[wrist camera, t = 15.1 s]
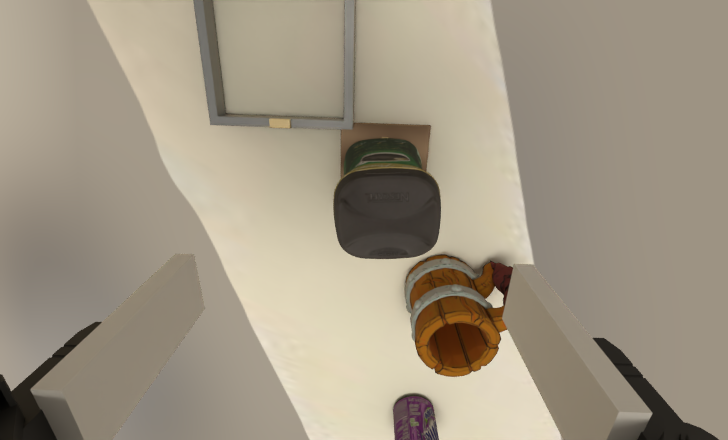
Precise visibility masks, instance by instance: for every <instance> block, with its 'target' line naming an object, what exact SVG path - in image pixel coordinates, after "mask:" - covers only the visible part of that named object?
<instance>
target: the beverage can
mask: <svg viewBox="0 0 728 440" xmlns="http://www.w3.org/2000/svg"><path fill="white" fill-rule="evenodd" d="M393 415H394V433H395V440H439V438H438V432H437V426H436V420H435V414H434V409H433V406H432V404H431V403H430V402H429V401H428V400H427V399H425V398H422V397H418V396H410V397H405V398H403V399H401V400H399V401H398V402H397V403H396V404H395V406H394V409H393Z"/></svg>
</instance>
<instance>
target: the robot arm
mask: <svg viewBox="0 0 728 440" xmlns="http://www.w3.org/2000/svg"><path fill="white" fill-rule="evenodd" d="M204 309H205V307H204V302H203V297H202V292H201V287H200V282H199V277H198V272H197V267H196V262H195V257H194V254H175V255H174V256H173V257H172V258H171V259H170V260H168V261H167V262H166V263H165V264H164V265H163V266H162V267H161V268H160V269H159V270H158V271H157V272H156V273H155V274H153V275H152V276H151V277H150V278H149V279H148V280H147V281H146V282H145V283H144V284H143V285H142V286H140V287H139V288H138V289H137V290H136V291H135V292H134V293H133V294H132V295H131V296H130V297H129V298H128V299H127V300H126V301H124V302H123V303H122V304H121V305H120V306H119V307H118V308H117V309H116V310H115V311H114V312H113V313H112V314H111V315H109V316H108V318H106V319H105V320H104V321H103V322H95V323H93V324H91V325H90V326H88V327H86V328H84V329H83V330H81V331H79V332H78V333H77V334H75V335H74V337H72V338H71V339H70V340H69V341H68V342H66V343H65V344H64V347H61V348H60V349H59V350H57V351H56V352H55V353H54V354H53V355H52V358H49V359H48V360H46V361H45V362H44V363H43V364H42V365H41V366H39V367H38V368H37V369H36V370H35V371H34V372H33V373H32V374H31V375H29V376H28V377H27V378H26V379H25V380H24V381H23V382H22V383H20V384H19V385H18V386H17V387H16V388H15V389H14V390H13V391H10V388H9V386H8V385H7V383H6V381H5V379H4V377H3V375H1V374H0V440H112V439H113V438H114V437H115V435H116V434H117V433H118V431H119V430H120V428H121V427H122V425H123V424H124V423H125V421H126V420H127V418H128V417H129V416H130V414H131V413H132V411H133V410H134V408H135V407H136V406H137V404H138V403H139V401H140V400H141V398H142V397H143V396H144V394H145V393H146V391H147V390H148V389H149V387H150V386H151V384H152V383H153V381H154V380H155V378H156V377H157V376H158V374H159V373H160V371H161V370H162V369H163V367H164V366H165V365H166V363H167V361H168V360H169V359H170V357H171V356H172V355H173V353H174V352H175V350H176V349H177V348H178V346H179V345H180V343H181V342H182V340H183V339H184V338H185V336H186V335H187V333H188V332H189V330H190V329H191V328H192V326H193V325H194V323H195V322H196V321H197V319H198V318H199V316H200V315H201V313H202V312H203V311H204ZM502 319H503V321H504V323H505V325H506V327H507V329H508V331H509V333H510V335H511V337H512V339H513V341H514V343H515V345H516V347H517V349H518V351H519V353H520V355H521V357H522V359H523V361H524V363H525V365H526V367H527V369H528V371H529V373H530V375H531V377H532V379H533V380H534V382H535V384H536V386H537V388H538V390H539V392H540V394H541V396H542V398H543V400H544V402H545V404H546V406H547V408H548V410H549V412H550V414H551V416H552V418H553V420H554V422H555V424H556V426H557V428H558V430H559V432H560V434H561V436H562V438H563V439H564V440H718V439H717V438H716V437H715V436H713V435H712V434H710V433H708V432H706V431H705V430H703V429H701V428H699V427H696V426H694V425H691V424H688V423H684V422H683V421H682V420H681V419H680V418H679V417H678V416H677V414H676V413H675V412H674V411H673V410H672V408H671V407H670V406H669V405H668V404H667V403H666V402H665V400H664V399H663V398H662V397H661V396H660V395H659V394H658V392H656V390H655V389H654V388H653V387H652V386H651V384H650V383H649V382H648V381H647V380H646V379H645V378H643V375H642V374H641V373H640V372H639V371H638V369H637V368H636V367H633V364H632V363H631V361H630V360H629V359H628V358H627V357H626V356H625V355H624V353H623V352H622V351H621V350H620V349H618V348H617V347H616V346H614V345H613V344H611V343H610V342H609V341H607V340H606V339H604V338H592V337H591V336H590V335H589V333H588V332H587V331H586V330H585V329H584V328H583V326H582V325H581V323H580V322H579V321H578V320H577V319H576V318H575V316H574V315H573V314H572V312H571V311H570V310H569V309H568V307H567V306H566V305H565V304H564V302H563V301H562V300H561V299H560V297H559V296H558V295H557V294H556V292H555V291H554V290H553V289H552V287H551V286H550V285H549V284H548V283H547V281H546V280H545V279H544V278H543V276H542V275H541V274H540V273H539V272H538V270H537V269H536V268H535V266H534V265H528V264H514V267H513V271H512V276H511V280H510V285H509V289H508V294H507V299H506V303H505V308H504V312H503V317H502Z"/></svg>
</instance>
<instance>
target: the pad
mask: <svg viewBox="0 0 728 440" xmlns="http://www.w3.org/2000/svg"><path fill="white" fill-rule="evenodd" d="M430 129H431V126H430V125H408V124H378V123H353V129H352V130H347V129H341V178H342V177H343V176H344V160H345V155H346V152H347V150H348V149H349V147H350V146H351V145H353V144H354V143H356V142H358V141H362V140H367V139H377V138H393V139H403V140H407V141H409V142H411V143H412V144H413V145H414V146H415V147H416V148H417V150H418V152H419V155H420V158H421V163H422V169H423V170H425V171H426V168H427V158H428V148H429V138H430Z"/></svg>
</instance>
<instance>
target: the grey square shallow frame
mask: <svg viewBox="0 0 728 440" xmlns="http://www.w3.org/2000/svg"><path fill="white" fill-rule="evenodd" d="M193 1H194V9H195V16H196V23H197V30H198V38H199V45H200V52H201V60H202V67H203V74H204V81H205V89H206V96H207V103H208V110H209V118H210V125H231V126H260V127H270V128H318V129H347V130H352V129H353V123H354V70H355V12H356V0H345V43H344V118H324V117H294V116H265V115H235V114H226V110H225V102H224V93H223V85H222V77H221V68H220V60H219V51H218V43H217V35H216V26H215V18H214V10H213V1H212V0H193Z"/></svg>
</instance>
